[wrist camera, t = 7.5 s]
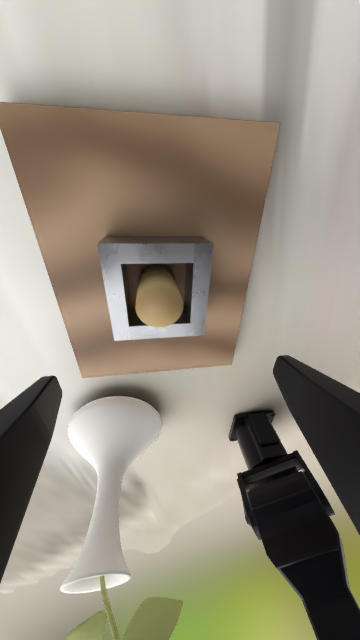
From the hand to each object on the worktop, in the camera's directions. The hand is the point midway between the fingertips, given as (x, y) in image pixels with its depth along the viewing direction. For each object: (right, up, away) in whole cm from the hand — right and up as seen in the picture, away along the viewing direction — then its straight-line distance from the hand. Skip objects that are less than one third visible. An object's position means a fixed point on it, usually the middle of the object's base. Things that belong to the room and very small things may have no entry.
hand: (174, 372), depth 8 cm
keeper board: (-2, +6, +10) cm, 11 cm away
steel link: (-2, +5, +8) cm, 10 cm away
